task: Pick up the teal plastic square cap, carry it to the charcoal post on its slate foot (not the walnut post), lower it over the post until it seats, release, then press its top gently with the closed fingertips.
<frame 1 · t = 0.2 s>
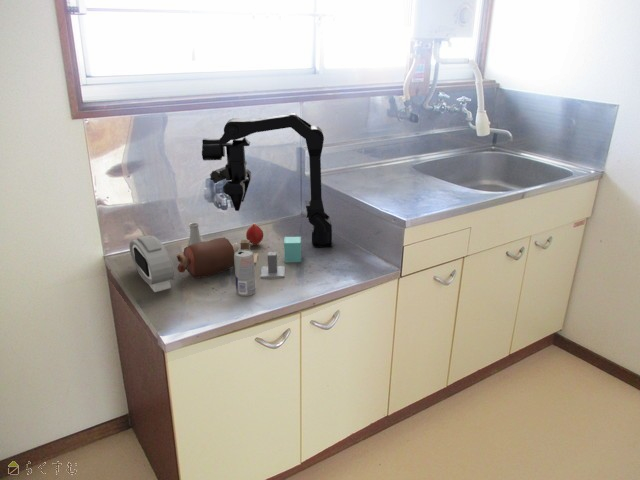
hand: (239, 206, 172), 14 cm above the table, tool pointing down, fingers open, 9 cm apart
energy drink: (246, 292, 147), on the table
meat: (210, 273, 159), on the table
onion: (255, 245, 179), on the table
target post: (272, 272, 158), on the table
flask: (196, 252, 173), on the table
alarm clock: (153, 280, 155), on the table
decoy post: (246, 259, 167), on the table
cap: (293, 258, 168), on the table
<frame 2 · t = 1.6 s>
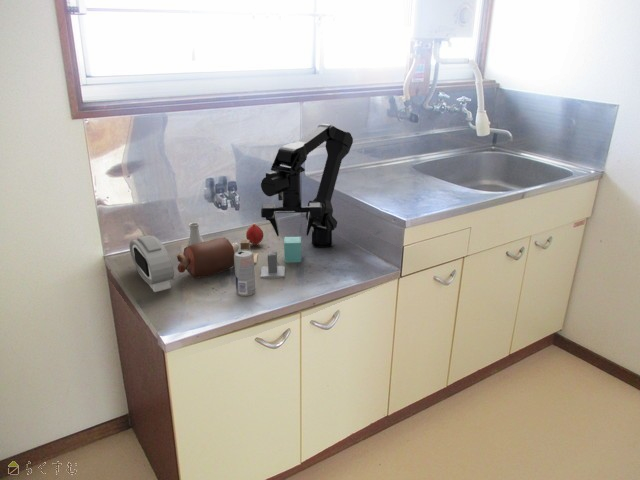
hand: (292, 235, 165), 8 cm above the table, tool pointing down, fingers open, 9 cm apart
nothing on the table moved.
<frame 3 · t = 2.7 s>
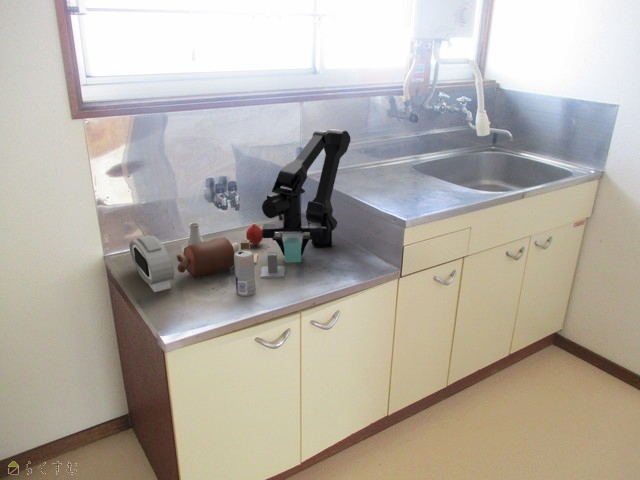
hand: (293, 255, 167), 1 cm above the table, tool pointing down, fingers closed on cap, 5 cm apart
cap: (293, 258, 168), on the table, touching gripper
everything else where it was.
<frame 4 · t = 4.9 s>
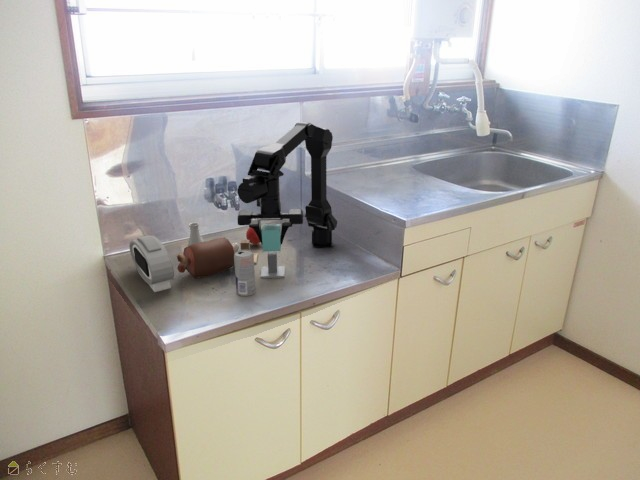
hand: (272, 244, 155), 9 cm above the table, tool pointing down, fingers closed on cap, 5 cm apart
cap: (272, 247, 155), point 8 cm above the table, touching gripper
everything else where it was.
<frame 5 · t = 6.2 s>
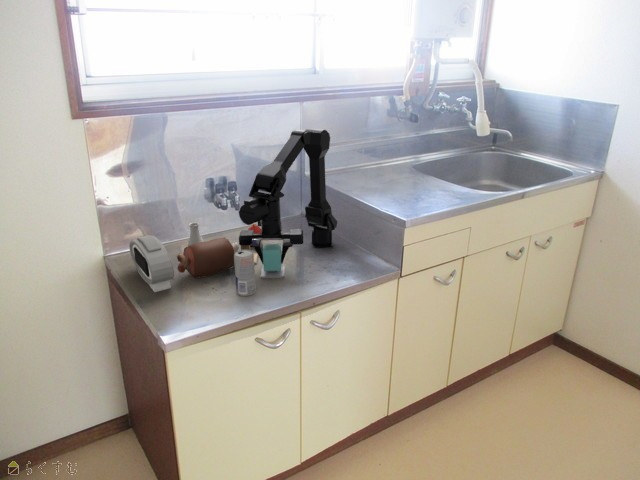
hand: (272, 263, 157), 3 cm above the table, tool pointing down, fingers closed on cap, 5 cm apart
cap: (272, 266, 158), point 2 cm above the table, touching gripper
everything else where it was.
when the fingers open (2 cm above the table, at t = 7.0 s): cap stays where it is, resting on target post.
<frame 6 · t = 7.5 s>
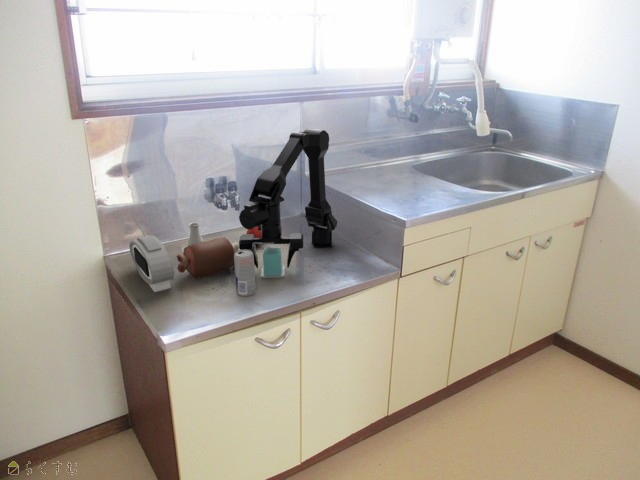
hand: (272, 267, 158), 2 cm above the table, tool pointing down, fingers open, 9 cm apart
cap: (272, 271, 158), point 1 cm above the table, touching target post
everything else where it was.
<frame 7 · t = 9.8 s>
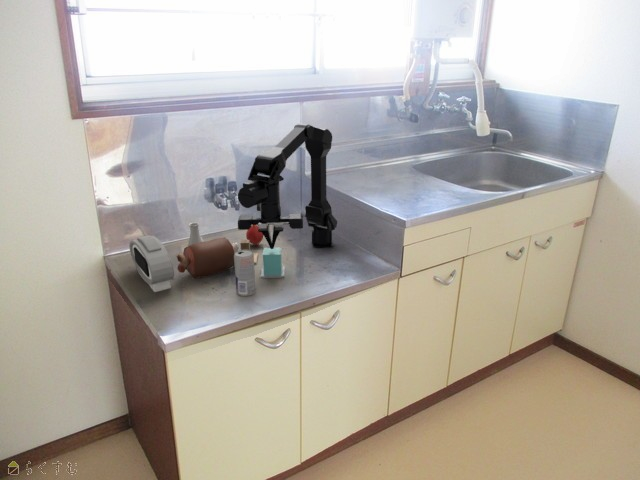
hand: (272, 248, 155), 8 cm above the table, tool pointing down, fingers closed
nothing on the table moved.
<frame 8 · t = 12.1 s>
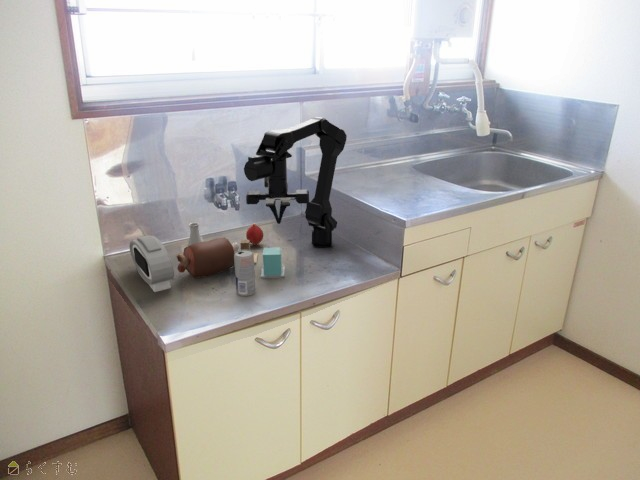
hand: (278, 223, 161), 13 cm above the table, tool pointing down, fingers closed
nothing on the table moved.
at the end: cap 0.0 cm from the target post (horizontally); cap point 0.6 cm above the table; the gripper is holding nothing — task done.
